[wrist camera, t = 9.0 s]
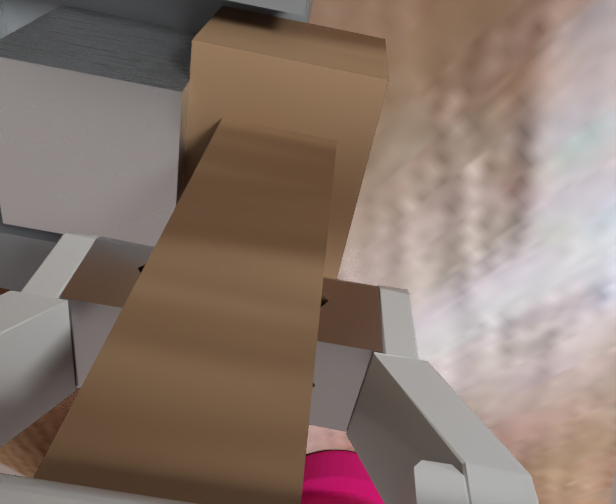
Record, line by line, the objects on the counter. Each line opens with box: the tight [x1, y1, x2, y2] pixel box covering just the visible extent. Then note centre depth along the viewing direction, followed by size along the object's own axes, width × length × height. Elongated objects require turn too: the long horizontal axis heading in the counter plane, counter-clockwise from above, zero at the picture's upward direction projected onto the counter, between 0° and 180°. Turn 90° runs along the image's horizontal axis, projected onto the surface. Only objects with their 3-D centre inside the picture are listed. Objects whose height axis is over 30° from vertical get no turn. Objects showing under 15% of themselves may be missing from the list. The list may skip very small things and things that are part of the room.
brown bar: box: [34, 6, 389, 504], centre depth 11 cm, size 6×4×12 cm
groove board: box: [0, 0, 312, 291], centre depth 16 cm, size 12×12×6 cm
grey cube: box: [0, 5, 199, 247], centre depth 14 cm, size 4×4×4 cm
